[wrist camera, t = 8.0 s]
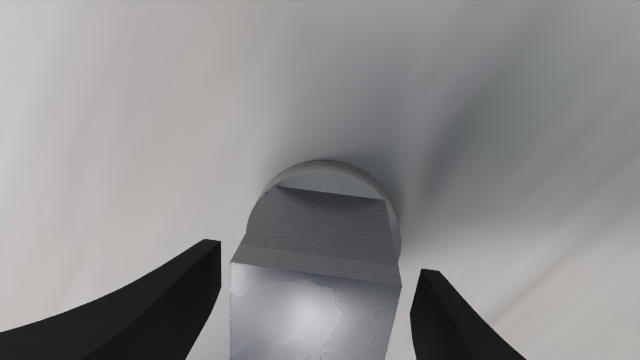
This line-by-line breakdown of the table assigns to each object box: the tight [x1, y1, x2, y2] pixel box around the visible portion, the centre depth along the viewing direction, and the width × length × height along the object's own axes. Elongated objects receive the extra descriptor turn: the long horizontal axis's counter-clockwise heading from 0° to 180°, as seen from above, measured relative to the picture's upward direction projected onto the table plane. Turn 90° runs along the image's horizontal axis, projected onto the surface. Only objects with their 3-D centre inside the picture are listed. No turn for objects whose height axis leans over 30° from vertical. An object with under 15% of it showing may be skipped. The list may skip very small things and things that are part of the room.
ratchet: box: [246, 160, 401, 262], centre depth 16 cm, size 16×6×4 cm, turn 174°
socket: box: [230, 185, 402, 360], centre depth 12 cm, size 4×4×5 cm
